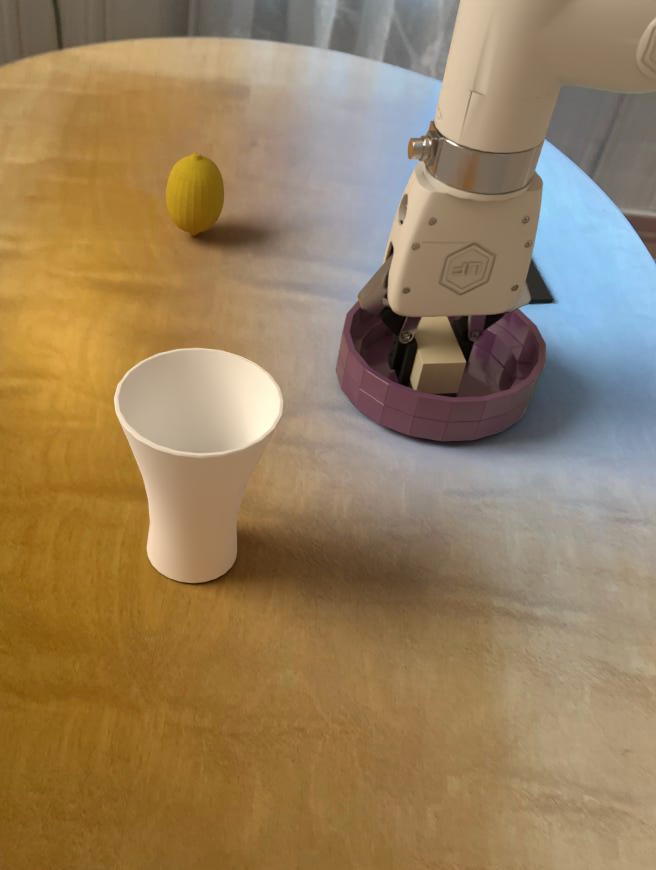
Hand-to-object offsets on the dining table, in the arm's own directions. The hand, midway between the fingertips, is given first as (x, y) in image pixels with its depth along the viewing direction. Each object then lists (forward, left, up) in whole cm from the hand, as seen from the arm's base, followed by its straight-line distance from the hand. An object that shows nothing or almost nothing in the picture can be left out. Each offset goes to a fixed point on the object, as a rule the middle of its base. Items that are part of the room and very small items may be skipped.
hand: (424, 371), depth 84 cm
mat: (-9, -16, -1) cm, 18 cm away
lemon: (+17, -24, -1) cm, 30 cm away
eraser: (0, 0, -1) cm, 1 cm away
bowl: (-1, 0, -1) cm, 1 cm away
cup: (+21, +18, -1) cm, 28 cm away
